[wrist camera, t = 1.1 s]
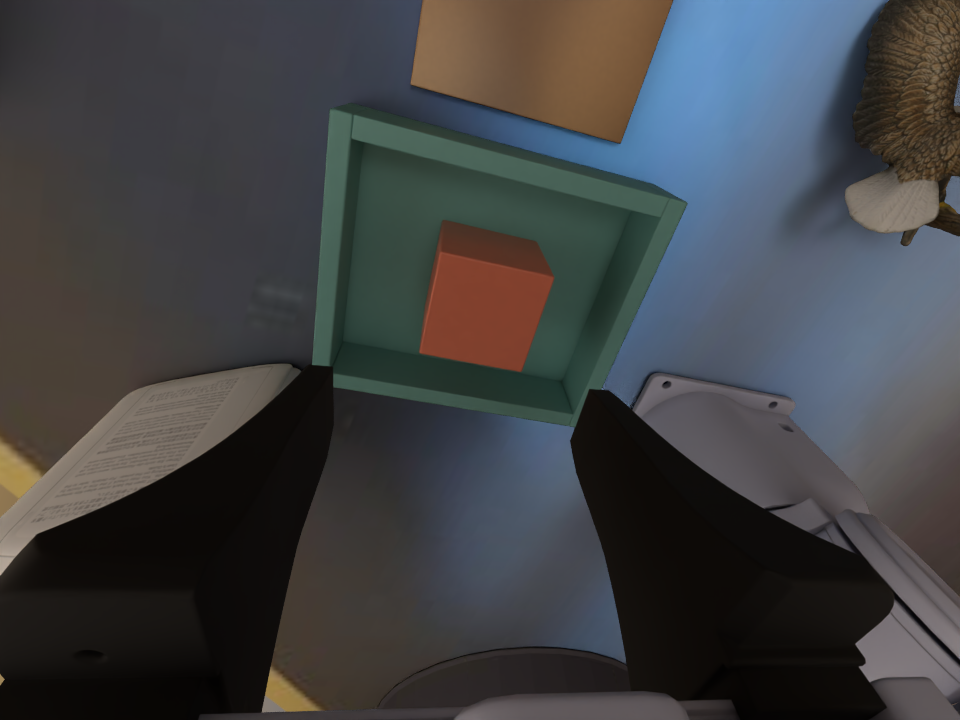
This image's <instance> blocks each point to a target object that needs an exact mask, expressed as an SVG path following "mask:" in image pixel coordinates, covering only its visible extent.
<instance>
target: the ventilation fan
mask: <svg viewBox="0 0 960 720" xmlns="http://www.w3.org/2000/svg"><path fill="white" fill-rule="evenodd" d="M627 691H631V689H630V682H629V675H628V668H627V665H625V664H623V663H621V662H619V661H617V660H615V659H612V658H609V657H605V656H602V655H598V654H595V653H591V652H586V651H579V650H572V649H565V648H543V647H525V648H512V649H499V650H493V651H487V652H482V653H476V654H471V655H466V656H462V657H459V658H456V659H452V660H449V661H445V662H442V663H439V664H436V665H434V666H432V667H429V668H427V669H425V670H423V671H420V672H418V673H416V674H414V675H412V676H411V677H409V678H408V679H406V680H404V681H403V682H401V683H400V684H398V685H397V686H395V687H394V688H393V689H392V690H391V691H390V692H389V693H388V694H387V695H386V696H385V697H384V698H383V700H382V701H381V703H380V705H379V707H378V709H408V708H444V707H467V706H470V705H472V704H475V703H477V702H480V701H482V700H485V699H487V698H493V697H500V696H507V695H514V694H544V693H585V692H627Z"/></svg>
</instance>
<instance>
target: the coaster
mask: <svg viewBox="0 0 960 720" xmlns="http://www.w3.org/2000/svg"><path fill="white" fill-rule="evenodd" d="M672 3H673V0H423V2H422V9H421V15H420V22H419V29H418V36H417V43H416V50H415V57H414V64H413V71H412V78H411V85H412V86H416V87H420V88H423V89H427V90H430V91H434V92H437V93H441V94H445V95H448V96H452V97H455V98H459V99H462V100H466V101H469V102H473V103H477V104H480V105H484V106H487V107H491V108H494V109H498V110H501V111H505V112H509V113H512V114H516V115H519V116H523V117H526V118H530V119H534V120H537V121H541V122H544V123H548V124H551V125H555V126H558V127H562V128H566V129H569V130H573V131H576V132H580V133H583V134H587V135H590V136H594V137H598V138H601V139H605V140H608V141H612V142H615V143H619V144H620V143H621V141H622V138H623V136H624V133H625V130H626V127H627V125H628V122H629V119H630V117H631V114H632V111H633V108H634V106H635V103H636V100H637V98H638V95H639V92H640V89H641V87H642V84H643V81H644V79H645V76H646V73H647V71H648V68H649V65H650V62H651V60H652V57H653V54H654V52H655V49H656V46H657V43H658V41H659V38H660V35H661V33H662V30H663V27H664V24H665V22H666V19H667V16H668V14H669V11H670V8H671V5H672Z"/></svg>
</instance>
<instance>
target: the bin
mask: <svg viewBox="0 0 960 720" xmlns="http://www.w3.org/2000/svg"><path fill="white" fill-rule="evenodd" d="M686 206H687V202H686V201H684V200H682V199H680V198H678V197H676V196H674V195H673V194H671V193H669V192H667V191H665V190H663V189H662V188H660V187H658V186H656V185H654V184H651V183H647V182H644V181H640V180H636V179H632V178H629V177H625V176H621V175H618V174H614V173H610V172H606V171H603V170H599V169H595V168H591V167H588V166H584V165H580V164H577V163H573V162H569V161H565V160H562V159H558V158H554V157H551V156H547V155H543V154H539V153H536V152H532V151H528V150H524V149H521V148H517V147H513V146H510V145H506V144H502V143H498V142H495V141H491V140H487V139H483V138H480V137H476V136H472V135H469V134H465V133H461V132H457V131H454V130H450V129H446V128H443V127H439V126H435V125H431V124H428V123H424V122H420V121H416V120H413V119H409V118H405V117H402V116H398V115H394V114H390V113H387V112H383V111H379V110H375V109H372V108H368V107H364V106H361V105H357V104H353V103H348V104H346V105H342V106H338V107H335V108H331V109H330V112H329V127H328V141H327V156H326V170H325V185H324V200H323V214H322V229H321V243H320V258H319V272H318V287H317V302H316V316H315V331H314V345H313V360H312V365H321V366H332V367H333V387H336V388H342V389H348V390H354V391H360V392H366V393H372V394H378V395H384V396H390V397H396V398H403V399H409V400H415V401H421V402H427V403H433V404H439V405H445V406H451V407H457V408H463V409H469V410H475V411H481V412H487V413H493V414H499V415H505V416H511V417H517V418H523V419H529V420H535V421H541V422H547V423H553V424H559V425H565V426H568V425H569V426H570V427H576V424H577V421H578V418H579V416H580V413H581V410H582V407H583V405H584V402H585V399H586V396H587V394H588V391H589V389H597V390H601V388H602V386H603V384H604V382H605V380H606V378H607V376H608V373H609V371H610V369H611V367H612V365H613V363H614V361H615V358H616V356H617V354H618V352H619V350H620V348H621V346H622V343H623V341H624V339H625V337H626V335H627V333H628V330H629V328H630V326H631V324H632V322H633V320H634V318H635V315H636V313H637V311H638V309H639V307H640V305H641V303H642V300H643V298H644V296H645V294H646V292H647V290H648V288H649V285H650V283H651V281H652V279H653V277H654V275H655V273H656V270H657V268H658V266H659V264H660V262H661V260H662V257H663V255H664V253H665V251H666V249H667V247H668V245H669V242H670V240H671V238H672V236H673V234H674V232H675V230H676V227H677V225H678V223H679V221H680V219H681V217H682V215H683V212H684V210H685V208H686ZM443 220H447V221H452V222H456V223H460V224H465V225H469V226H473V227H477V228H482V229H486V230H490V231H494V232H499V233H503V234H507V235H511V236H516V237H520V238H524V239H528V240H533V241H536V242H537V243H538V245H539V247H540V249H541V251H542V253H543V255H544V257H545V259H546V261H547V263H548V265H549V267H550V269H551V271H552V273H553V275H554V281H553V284H552V287H551V290H550V293H549V295H548V298H547V301H546V304H545V307H544V310H543V313H542V316H541V318H540V321H539V324H538V327H537V330H536V333H535V336H534V338H533V341H532V344H531V347H530V350H529V353H528V356H527V359H526V361H525V364H524V367H523V370H522V372H518V371H512V370H507V369H501V368H496V367H490V366H485V365H479V364H474V363H469V362H463V361H458V360H452V359H447V358H441V357H436V356H430V355H425V354H421V353H419V348H420V340H421V332H422V325H423V317H424V309H425V303H426V298H427V293H428V288H429V283H430V278H431V273H432V268H433V263H434V259H435V254H436V249H437V244H438V239H439V234H440V229H441V224H442V221H443Z"/></svg>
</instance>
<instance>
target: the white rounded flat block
mask: <svg viewBox="0 0 960 720" xmlns="http://www.w3.org/2000/svg"><path fill="white" fill-rule="evenodd" d="M300 372H301V371H300V370H299V369H297V368H293V367H292V365H291V364H266V365H258V366H252V367H245V368H239V369H233V370H226V371H221V372H215V373H209V374H203V375H198V376H193V377H186V378H181V379H175V380H170V381H166V382H161V383H157V384H153V385H149V386H145V387H142V388H140V389H137V390H135V391H133V392H131V393H129V394H128V395H127V396H125V397H124V398H123V399H122V400H121V401H120V402H119V403H118V404H117V405H116V406H115V407H114V408H113V409H112V410H111V411H110V412H109V413H108V414H107V415H106V416H104V417H103V418H102V419H101V420H100V421H99V422H98V423H97V424H96V425H95V426H94V427H93V428H92V429H91V430H90V431H89V432H88V433H87V434H86V435H85V436H84V437H83V438H82V439H81V440H80V441H79V442H78V443H77V444H76V445H75V446H74V447H73V448H72V449H71V450H70V451H68V452H67V453H66V454H65V455H64V456H63V457H62V458H61V459H60V460H59V461H58V462H57V463H56V464H55V465H54V466H53V467H52V468H51V469H50V470H49V471H48V472H47V473H46V474H45V475H44V476H43V477H42V478H41V479H40V480H39V481H38V482H36V483H35V484H34V485H33V486H32V487H31V488H30V489H29V490H28V491H27V492H26V493H25V494H24V495H23V496H22V497H21V498H20V499H19V500H18V501H17V502H16V503H15V504H14V505H13V506H12V507H11V508H10V509H9V510H8V511H6V512H5V513H4V514H3V515H2V516H1V517H0V575H1V574H2V573H3V571H4V570H5V569H6V568H7V567H8V565H9V564H10V563H11V562H12V560H13V559H14V558H15V557H16V556H17V554H18V553H19V552H20V551H21V550H22V549H23V548H24V547H25V546H26V545H27V544H28V543H29V542H30V541H31V540H32V539H33V537H34V536H35V535H36V534H38V533H40V532H43V531H46V530H48V529H51V528H53V527H56V526H58V525H60V524H63V523H65V522H68V521H70V520H73V519H75V518H77V517H80V516H82V515H85V514H87V513H90V512H92V511H94V510H97V509H99V508H101V507H104V506H106V505H108V504H110V503H112V502H115V501H117V500H119V499H121V498H123V497H125V496H127V495H129V494H131V493H133V492H136V491H138V490H139V489H141V488H143V487H145V486H147V485H149V484H151V483H153V482H155V481H157V480H159V479H161V478H163V477H164V476H166V475H168V474H170V473H171V472H173V471H175V470H176V469H178V468H180V467H182V466H183V465H185V464H187V463H189V462H190V461H192V460H194V459H196V458H197V457H199V456H200V455H202V454H203V453H205V452H206V451H208V450H209V449H211V448H212V447H214V446H215V445H217V444H218V443H220V442H221V441H222V440H224V439H225V438H227V437H228V436H229V435H231V434H232V433H233V432H235V431H236V430H237V429H238V428H240V427H241V426H242V425H243V424H245V423H246V422H247V421H248V420H249V419H251V418H252V417H253V416H254V415H256V414H257V413H258V412H259V411H260V410H262V409H263V408H264V407H265V406H266V405H267V404H268V403H269V402H270V401H272V400H273V399H274V398H275V397H276V396H277V395H278V394H279V393H280V392H281V391H282V390H283V389H284V388H285V387H286V386H288V385H289V384H290V383H291V382H292V381H293V380H294V379H295V378H296V377H297V376H298V375H299V373H300Z"/></svg>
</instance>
